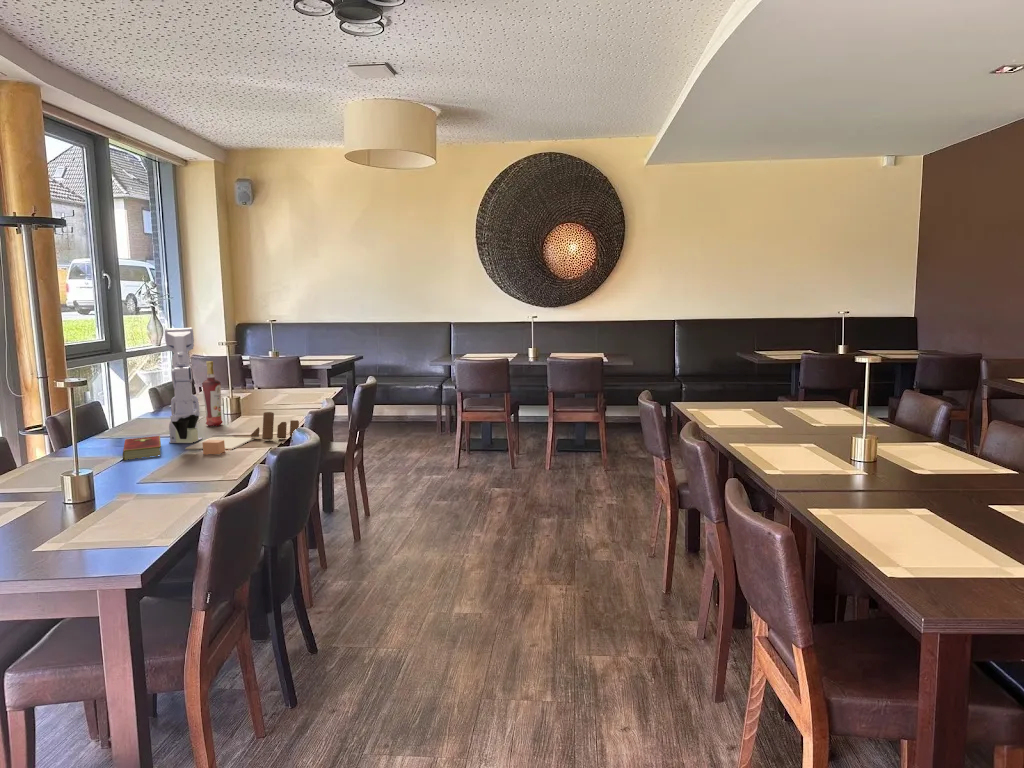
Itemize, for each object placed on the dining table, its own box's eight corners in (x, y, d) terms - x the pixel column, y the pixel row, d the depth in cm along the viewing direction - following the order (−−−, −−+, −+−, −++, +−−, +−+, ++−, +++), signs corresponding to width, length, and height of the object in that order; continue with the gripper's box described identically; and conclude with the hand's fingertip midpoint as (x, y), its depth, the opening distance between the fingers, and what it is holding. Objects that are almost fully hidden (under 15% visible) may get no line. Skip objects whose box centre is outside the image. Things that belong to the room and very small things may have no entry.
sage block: (176, 442, 248) (175, 430, 248) (182, 440, 252) (181, 427, 252) (192, 442, 248) (191, 430, 247) (198, 440, 252) (197, 428, 251)
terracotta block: (203, 454, 248) (202, 442, 247) (209, 452, 252) (208, 439, 251) (219, 454, 247) (218, 442, 246) (225, 452, 251) (224, 440, 250)
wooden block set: (298, 441, 276) (299, 416, 278) (297, 438, 267) (298, 412, 270) (250, 441, 272) (252, 415, 274) (247, 438, 263) (249, 411, 266)
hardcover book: (123, 461, 241) (122, 449, 240) (125, 449, 259) (124, 438, 259) (161, 457, 246) (160, 445, 246) (160, 445, 265) (160, 434, 264)
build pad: (185, 449, 256) (185, 447, 256) (211, 438, 274) (211, 437, 273) (231, 449, 254) (231, 448, 254) (255, 439, 272) (255, 437, 271)
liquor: (216, 427, 295) (212, 362, 291) (201, 427, 297) (196, 362, 293) (227, 424, 302) (222, 360, 298) (212, 423, 304) (207, 360, 300)
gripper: (182, 403, 240) (185, 442, 242) (205, 397, 254) (208, 433, 256) (163, 403, 241) (166, 441, 243) (187, 396, 255) (190, 432, 257)
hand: (186, 437), depth 250 cm, fingers closed on sage block, 4 cm apart
